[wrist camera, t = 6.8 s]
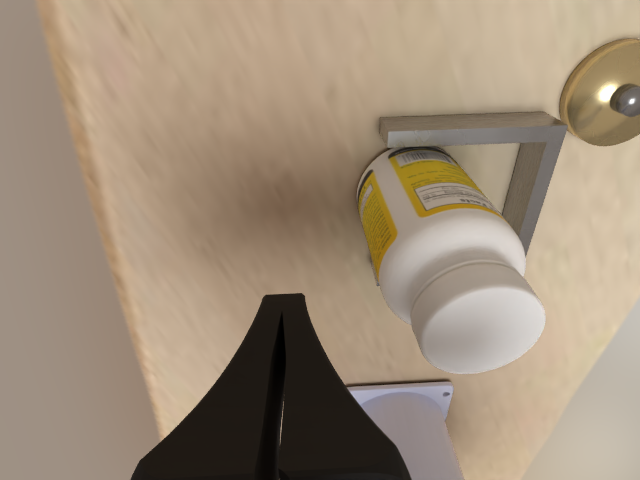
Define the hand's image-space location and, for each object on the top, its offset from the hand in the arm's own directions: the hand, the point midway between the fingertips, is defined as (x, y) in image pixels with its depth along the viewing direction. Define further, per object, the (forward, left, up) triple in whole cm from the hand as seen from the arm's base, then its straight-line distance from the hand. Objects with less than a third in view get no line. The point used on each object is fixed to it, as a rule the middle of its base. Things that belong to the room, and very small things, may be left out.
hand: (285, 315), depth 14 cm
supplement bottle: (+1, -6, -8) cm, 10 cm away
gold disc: (+5, -15, -8) cm, 18 cm away
